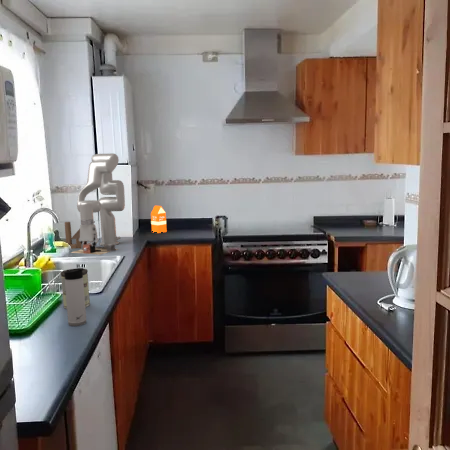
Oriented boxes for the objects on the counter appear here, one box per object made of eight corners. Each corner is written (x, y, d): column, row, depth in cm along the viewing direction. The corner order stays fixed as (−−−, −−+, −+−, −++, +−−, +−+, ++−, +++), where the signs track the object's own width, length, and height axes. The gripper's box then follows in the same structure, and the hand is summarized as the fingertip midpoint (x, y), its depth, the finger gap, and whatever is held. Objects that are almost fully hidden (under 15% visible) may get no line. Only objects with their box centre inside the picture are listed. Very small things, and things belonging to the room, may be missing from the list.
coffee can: (67, 302, 212) (64, 268, 210) (92, 301, 212) (90, 267, 210) (60, 310, 202) (57, 274, 200) (86, 309, 202) (84, 273, 200)
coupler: (81, 253, 312) (81, 245, 312) (90, 250, 319) (90, 242, 319) (88, 253, 310) (87, 245, 309) (97, 251, 317) (96, 243, 316)
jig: (90, 249, 332) (89, 240, 332) (119, 250, 322) (118, 242, 321) (70, 254, 316) (69, 245, 316) (100, 256, 306) (99, 247, 305)
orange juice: (158, 233, 388) (156, 206, 385) (151, 232, 395) (150, 205, 392) (166, 231, 393) (165, 205, 391) (160, 230, 400) (158, 204, 397)
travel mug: (82, 326, 181) (78, 270, 179) (65, 326, 183) (60, 270, 180) (90, 320, 187) (86, 266, 185) (73, 320, 189) (68, 266, 186)
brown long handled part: (82, 250, 330) (80, 222, 327) (65, 250, 330) (63, 222, 328) (84, 249, 333) (81, 221, 331) (67, 249, 334) (65, 221, 331)
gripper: (102, 222, 312) (104, 251, 314) (80, 221, 319) (82, 250, 322) (94, 223, 305) (96, 254, 308) (72, 222, 313) (74, 252, 315)
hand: (89, 251), depth 315 cm, fingers closed on jig, 5 cm apart
